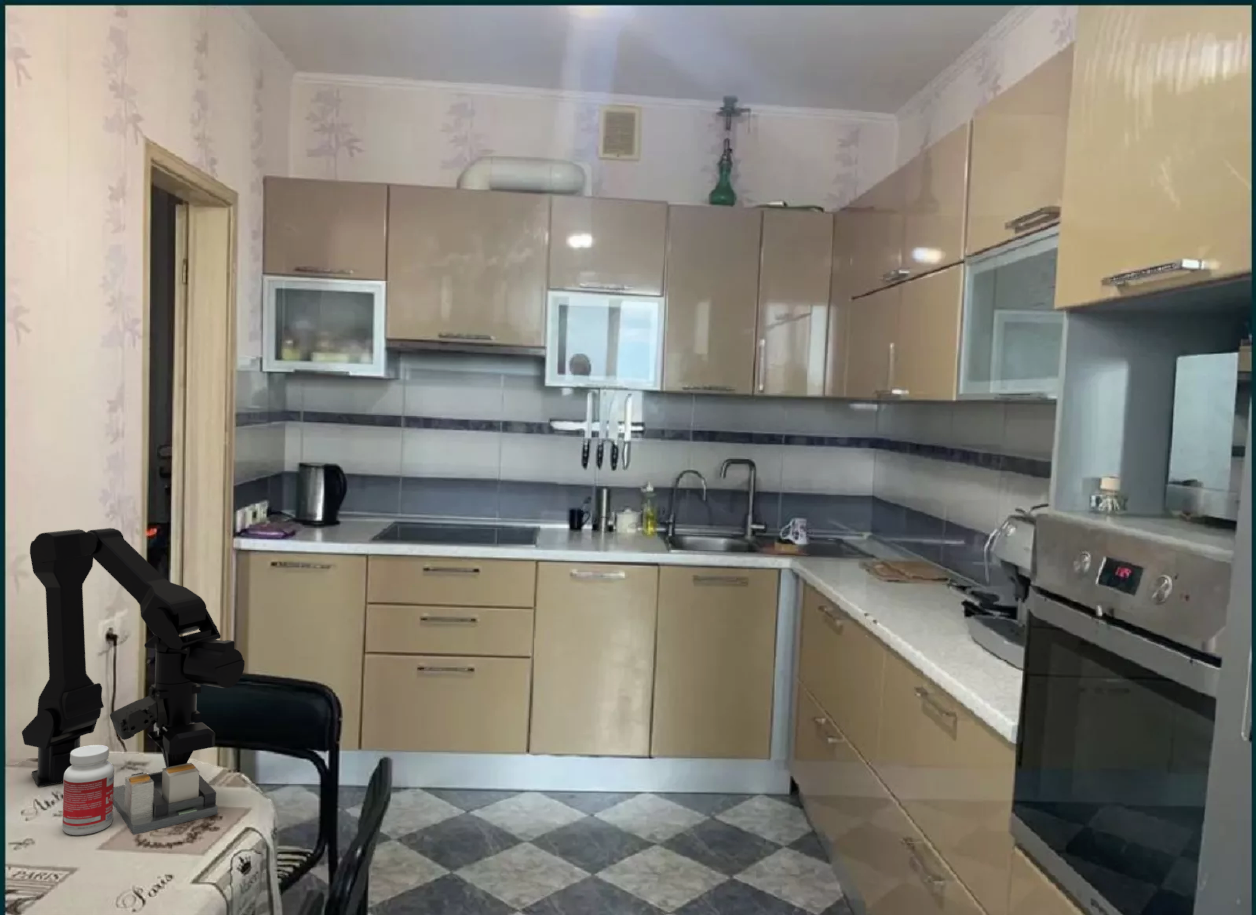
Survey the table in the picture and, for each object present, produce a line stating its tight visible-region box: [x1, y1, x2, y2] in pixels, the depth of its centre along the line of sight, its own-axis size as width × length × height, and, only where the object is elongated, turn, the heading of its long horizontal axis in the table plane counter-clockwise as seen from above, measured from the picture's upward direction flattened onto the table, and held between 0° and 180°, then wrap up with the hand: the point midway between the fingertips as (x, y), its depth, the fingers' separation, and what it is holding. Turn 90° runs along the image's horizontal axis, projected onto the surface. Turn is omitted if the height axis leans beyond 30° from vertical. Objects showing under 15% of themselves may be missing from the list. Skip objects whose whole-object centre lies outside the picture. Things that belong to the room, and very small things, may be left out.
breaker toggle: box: [161, 762, 200, 804], centre depth 132 cm, size 4×4×5 cm
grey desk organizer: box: [113, 770, 219, 835], centre depth 134 cm, size 16×11×6 cm
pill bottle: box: [61, 744, 115, 836], centre depth 126 cm, size 6×6×11 cm
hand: (173, 780), depth 135 cm, fingers closed
